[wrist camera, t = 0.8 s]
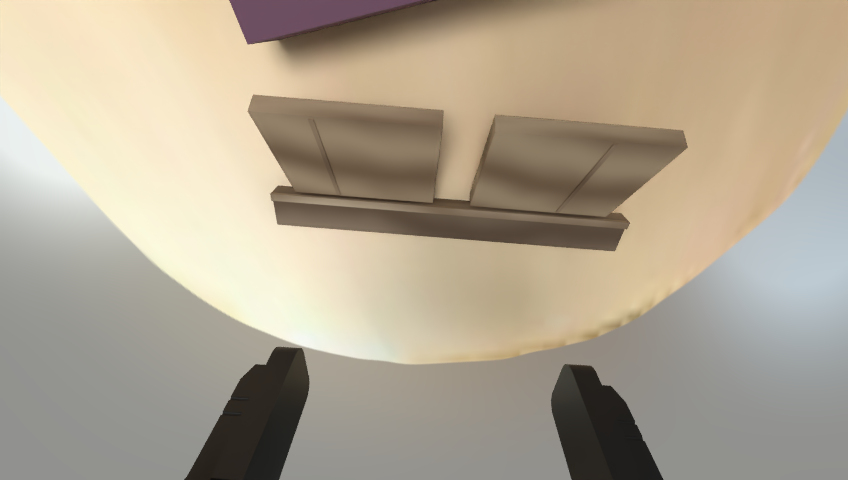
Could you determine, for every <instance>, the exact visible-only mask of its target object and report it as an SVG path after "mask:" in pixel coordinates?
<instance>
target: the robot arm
mask: <svg viewBox="0 0 848 480" xmlns="http://www.w3.org/2000/svg"><path fill="white" fill-rule="evenodd" d="M308 391H309V375H308V371H307V366H306V361H305V356H304V352H303V350H302V348H289V347H276V348H275V349H274V350H273V352H272V354H271V356H270V358H269V360H268V362H267V364H266V365H258V364H256V365H254V366H253V368H251V369H250V370H249V372H247V373H246V374H245V375H244V376H243V377H242V378H241V379H240V381H239V383H238V384H237V386H236V388H235V390H234V392H233V394H232V396H231V399H230V400H229V401H228V403H227V405H226V406H225V408H224V411H223V414H222V415H221V416H220V417H219V419H218V421H217V423H216V425H215V427H214V428H213V430H212V432H211V434H210V436H209V438H208V439H207V441H206V443H205V445H204V447H203V449H202V450H201V452H200V454H199V456H198V458H197V459H196V461H195V463H194V465H193V467H192V469H191V471H190V472H189V474H188V476H187V477H186V478H185V480H279V478H280V475H281V472H282V469H283V466H284V463H285V460H286V458H287V455H288V452H289V449H290V446H291V443H292V440H293V437H294V434H295V431H296V429H297V426H298V423H299V420H300V417H301V414H302V411H303V408H304V405H305V402H306V399H307V396H308ZM551 406H552V413H553V417H554V420H555V424H556V427H557V430H558V434H559V438H560V441H561V445H562V448H563V451H564V454H565V458H566V462H567V465H568V468H569V472H570V476H571V479H572V480H663V478H662V476H661V474H660V472H659V470H658V468H657V466H656V464H655V461H654V460H653V457H652V455H651V453H650V451H649V449H648V447H647V445H646V443H645V441H643V439H642V435H641V433H640V431H639V429H638V427H637V425H635V420H634V418H633V416H632V414H631V412H630V410H629V408H628V406H627V404H626V402H625V401H624V400H623V399H622V398H621V397H620V396H619V394H618V393H617V392H616V391H615V390H614V389H613V388H612V387H611V386H605V385H603V386H602V385H601V382H600V380H599V378H598V376H597V373H596V371H595V370H594V368H593V367H592V366H587V365H568V364H565V365H564V366H563V368H562V370H561V373H560V375H559V378H558V380H557V383H556V385H555V388H554V390H553V393H552V399H551Z"/></svg>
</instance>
